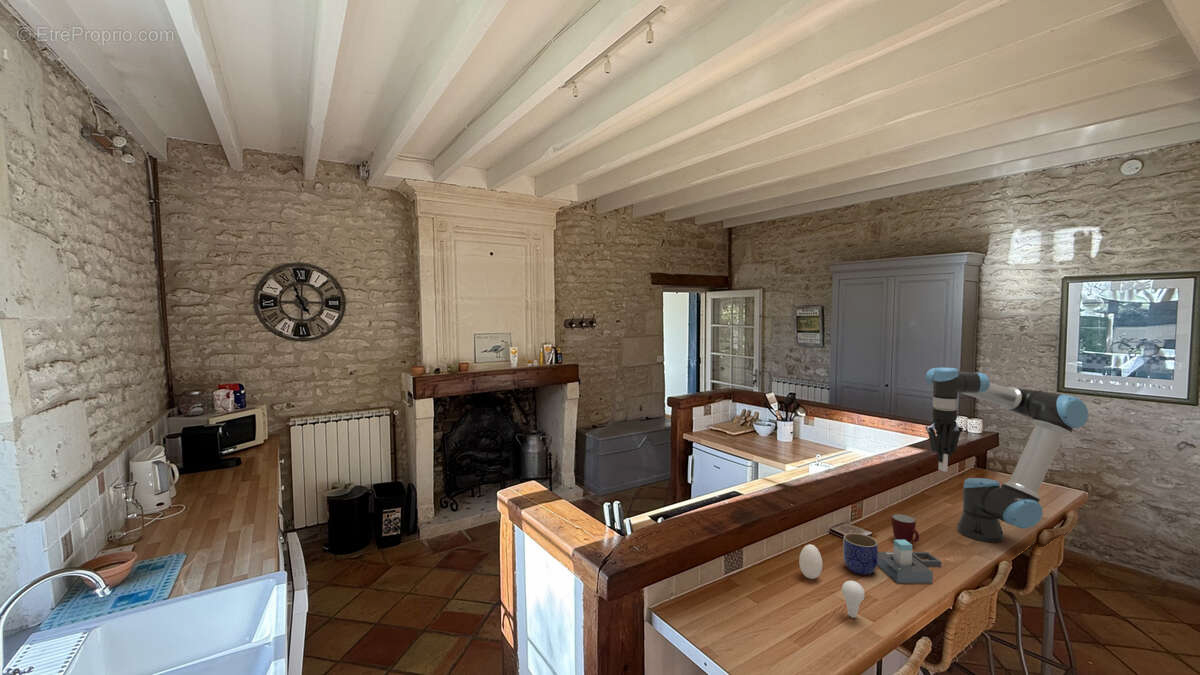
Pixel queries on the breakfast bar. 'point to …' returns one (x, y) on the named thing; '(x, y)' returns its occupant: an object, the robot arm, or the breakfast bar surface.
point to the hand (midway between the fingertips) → (942, 470)
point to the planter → (860, 553)
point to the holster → (931, 560)
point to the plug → (902, 553)
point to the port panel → (904, 570)
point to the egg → (810, 561)
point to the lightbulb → (853, 596)
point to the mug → (904, 528)
